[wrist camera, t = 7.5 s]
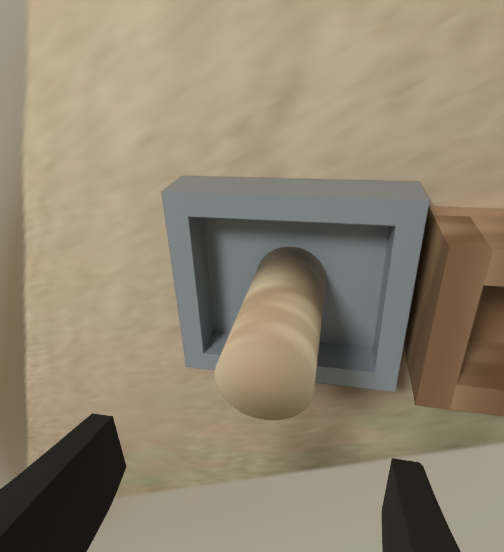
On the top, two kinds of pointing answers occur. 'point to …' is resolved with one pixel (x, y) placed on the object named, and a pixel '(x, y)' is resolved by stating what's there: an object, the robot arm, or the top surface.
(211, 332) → the tray
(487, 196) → the top surface
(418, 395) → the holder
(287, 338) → the dowel
